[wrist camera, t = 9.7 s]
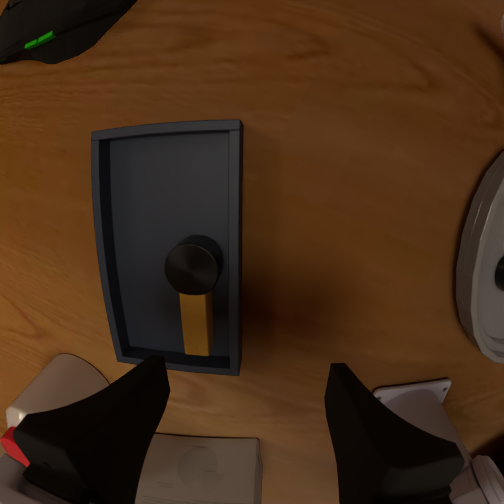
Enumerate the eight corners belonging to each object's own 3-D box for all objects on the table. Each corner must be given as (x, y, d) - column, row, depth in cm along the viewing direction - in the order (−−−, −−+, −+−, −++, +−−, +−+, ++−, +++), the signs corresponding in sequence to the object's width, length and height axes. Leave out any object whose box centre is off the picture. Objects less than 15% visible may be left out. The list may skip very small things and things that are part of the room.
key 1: (226, 339, 21) (221, 357, 19) (181, 336, 21) (173, 353, 19) (223, 234, 19) (218, 244, 16) (173, 233, 19) (162, 242, 17)
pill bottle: (97, 422, 26) (55, 496, 15) (42, 374, 24) (-13, 439, 14) (129, 396, 24) (80, 487, 13) (65, 339, 22) (-7, 414, 12)
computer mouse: (133, 48, 16) (106, 28, 12) (-11, 85, 16) (-40, 82, 12) (164, -62, 13) (149, -88, 9) (18, -12, 13) (-5, -23, 9)
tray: (241, 359, 22) (238, 376, 20) (127, 347, 22) (117, 361, 20) (243, 124, 17) (240, 119, 15) (106, 133, 18) (91, 131, 16)
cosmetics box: (170, 466, 27) (147, 539, 17) (153, 431, 25) (120, 515, 15) (264, 471, 26) (259, 553, 16) (259, 437, 24) (253, 534, 14)
